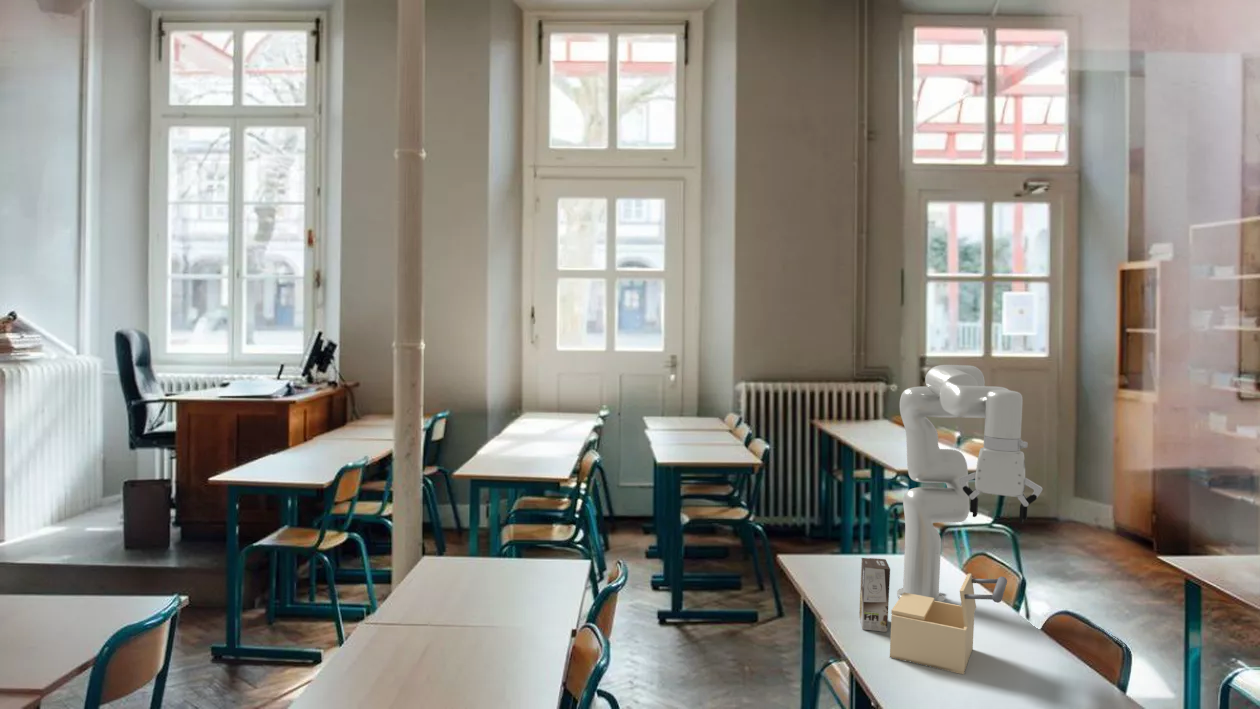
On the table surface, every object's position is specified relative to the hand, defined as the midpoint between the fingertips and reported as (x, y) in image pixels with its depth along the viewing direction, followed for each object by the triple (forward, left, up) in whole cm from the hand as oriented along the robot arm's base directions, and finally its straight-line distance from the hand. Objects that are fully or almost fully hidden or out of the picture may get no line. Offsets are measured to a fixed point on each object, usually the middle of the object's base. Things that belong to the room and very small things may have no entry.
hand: (997, 519), depth 181 cm
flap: (+2, -6, -19) cm, 20 cm away
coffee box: (-9, -29, -34) cm, 45 cm away
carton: (+2, -13, -34) cm, 36 cm away
